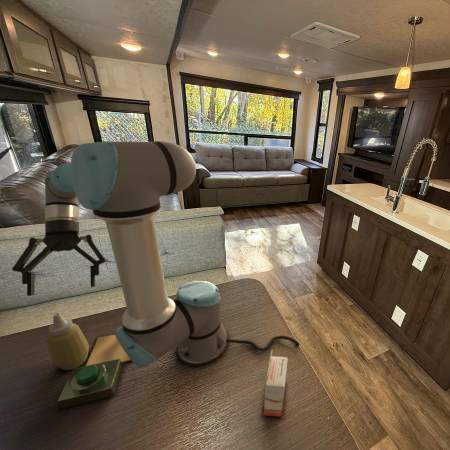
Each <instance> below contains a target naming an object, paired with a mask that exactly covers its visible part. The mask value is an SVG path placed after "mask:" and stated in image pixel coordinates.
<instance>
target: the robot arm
mask: <svg viewBox="0 0 450 450" xmlns="http://www.w3.org/2000/svg"><path fill="white" fill-rule="evenodd" d="M196 165H197V164H196V161H195V159H194V157H193V156H192V155H191V154H190V152H189V151H188V150H187V149H185V148H184V147H182V146H181V145H179V144H176V143H173V142H170V141H163V140H155V141H110V140H107V141H106V140H104V141H97V142H86V143H85V142H84V143H81V144H79V145H78V146H76V148H75V149H74V150H73V152H72V155H71V158H70V163H63V164H60V165H57V166H56V167H55V168H54V169H53V170H49V171H47V172H46V173H45V178H44V181H43V182H44V195H45V197H44V199H45V204H44V205H45V206H44V220H46V221H45V223H44V225H45V226H44V237H43V238H38V237H37V238H36V237H30V238H29V240H28V244H27V246H26V248H25V249H24V251H23V252H22V254H21V255H20V257H19V258H18V259H17V261H16V262H15V264H14V265H13V266H12V268H11V270H12V271H13V272H18V273H21V283H22V285H26V297H30V296H35V293H36V292H35V288H36V287H35V283H36V281H35V275H36V273H35V271H33V270H34V269H35V268H36V267H37V266H38V265H39V264H40V263H41V262H42V261H43V260H45V259H46V258H47V257H48V256H49V255H50V254H52V253H53V252H58V253H60V252H71V251H73V250H74V251H76V252H77V253H79V255H80V256H82V257H83V258H85V259H86V260H87V261H89V262H90V263H91V264H92V265H90V266H89V270H90V271H89V272H90V288H93V287H96V276H99V275H100V265H102V264H105V263H106V262H107V259H106V258H105V256H104V255H103V253H102V252H101V251H100V249H99V248H98V247H97V245H96V244H95V242H94V237H93V236H92V235H91V234H86V235H82V236H81V235H80V222H79V220H80V209H79V204H80V206H81V207H82V208H84V209H86V210H90V211H92V213H93V215H94V217H96V218H97V219H100V220H101V221H103V222H105V225H106V229H107V232H108V237H109V241H110V245H111V249H112V253H113V257H114V261H115V265H116V269H117V273H118V277H119V281H120V285H121V290H122V294H123V298H124V303H125V306H126V310H125V311H124V312H123V314H122V317H121V323H122V326H119V327H118V328H117V329H115V331H114V334H115V336H116V338H117V340H118V342H119V343H120V345H121V347H122V348H123V350H124V351H125V352H126V354H127V355H128V356H129V358H130V359H131V360H132V361H131V362H132V363H133V364H134V365H135V366H136V367H138V368H145V367H148V366H149V365H151V364H153V363H154V362H156V361H158V360H159V359H161V358H162V357H163V356H165V355H166V354H168V353H169V352H170V351H171V350H173V349H175V348H176V347H177V353H178V357H179V359H180V360H181V361H182V362H183V363H184V364H186V365H190V366H203V365H206V364H209V363H211V362H213V361H215V360H216V359H218V358H219V357H220V356H221V355H222V354H223V353H224V352H225V350H226V349H227V346H228V343H233V344H246V345H250V346H252V347H253V348H254V349H256V350H257V351H259V352H265V351H267V350H269V349H270V348H271V347H272V344H273V343H274V342H275V341H276V340H287V341H290V342H292V343H293V344H294V345H296V346H300V345H301V344H300V343H299V342H298V341H297V340H296V339H295V338H293V337H291V336H287V335H277V336H274V337H273V338H271V339H270V340H269V341H268V343H267V345H266V346H265V347H260V346H259V345H258V344H256V343H255V342H253V341H250V340H247V339H246V340H245V339H233V338H228V334H227V330H226V329H225V327H224V326H223V323H222V320H221V319H222V318H221V296H220V290H219V287H217V286H216V285H215V284H214V283H212V282H209V281H205V280H192V281H189V282H186V283H184V284H182V285H180V286H179V288H178V289H177V291H176V293H175V295H176V297H174V298H173V299H172V298H170V297H168V293H167V288H166V287H167V286H166V280H165V274H164V268H163V261H162V256H161V249H160V244H159V238H158V232H157V225H156V219H155V215H156V214H157V213H159V212H160V210H161V208H162V207H161V200H160V197H164V196H170V195H173V194H177V193H180V192H182V191H184V190H186V189H187V188H189V186H191V184H193V183H194V181H195V178H196V175H197V166H196ZM81 241H83V242H84V243H87V244H88V246H89V247H90V248H91V250H92V251H93V253H94V254H95V256H96V257H97V258H98V259H97V260H96V259H95V258H94V257H93V256H92V255H90V254H89V253H88V252H87V251H85V250H84V249H83V248H82V247H81V246H79V244H80V242H81ZM41 244H44V245H45V247H44V248H43V249H42V250H41V251H40V252H39V253H38V254H37V255H36V256H35V257H34V258H33V259H32V260H30V258H31V257H32V255H33V254H34V253H35V251H36V249H37V248H38V246H40V245H41ZM29 260H30V261H29ZM28 261H29V262H28Z"/></svg>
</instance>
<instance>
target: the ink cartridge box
mask: <svg viewBox="0 0 450 450" xmlns="http://www.w3.org/2000/svg"><path fill="white" fill-rule="evenodd" d="M288 358H289V357H285V356H275V355H273V350H271V351H270V357H269V361H268V362H269V363H268V368H267V374H266V379H265V386H264V404H263V407H264V408H263V416H270V417H280V418H281V417H282V415H283V414H282V413H283V405H284V397H285V389H286V381H287V371H288V360H289V359H288Z"/></svg>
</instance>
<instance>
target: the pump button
mask: <svg viewBox="0 0 450 450" xmlns="http://www.w3.org/2000/svg"><path fill="white" fill-rule="evenodd" d="M97 376H98V370H97V367H96V366H94V365H90V366H87V367H85V368H83V369H82V370H80V371H79V373H78V374H77V379H78V382H79V384H81V385H86V384H89V383H90V382H92V381H94V380H95V379H96V378H97Z"/></svg>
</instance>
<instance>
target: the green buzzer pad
mask: <svg viewBox="0 0 450 450" xmlns="http://www.w3.org/2000/svg"><path fill="white" fill-rule="evenodd" d="M93 365H94V366H96V367H97V370H98V376H97V378H96V379H95V380H94V381H92V382H90V383H89V384H86V385H81V384H79V382H78V379H77V374H78V373H79V371H80V370H82V369H83V368H85V367H87V366H86V365H83V366H78V367H76V368H74V369H71V370H72V371H71V372H70V375H69V376H68V379H67V380H66V383H65V385H64V387H63V389H62V391H61V393H60V395H59V397H58V400H57V404H58V406H59V407H60V409H66V408H69V407H73V406H77V405H80V404H85V403H89V402H92V401H93V402H94V401H97V400H100V399H104V398H108V397H113V396H114V395H115V392H116V388H117V385H118V382H119V379H120V375H121V371H122V368H123V363H122V362H121V359H116V360H111V361H107V362H102V363H97V364H93ZM88 366H90V365H88Z"/></svg>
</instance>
